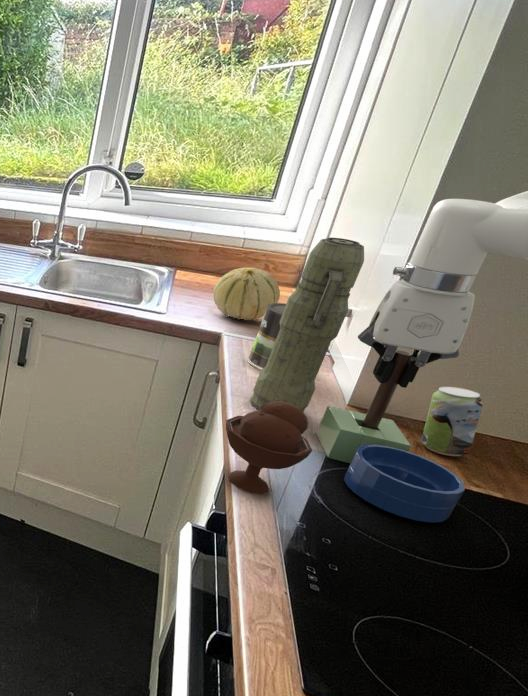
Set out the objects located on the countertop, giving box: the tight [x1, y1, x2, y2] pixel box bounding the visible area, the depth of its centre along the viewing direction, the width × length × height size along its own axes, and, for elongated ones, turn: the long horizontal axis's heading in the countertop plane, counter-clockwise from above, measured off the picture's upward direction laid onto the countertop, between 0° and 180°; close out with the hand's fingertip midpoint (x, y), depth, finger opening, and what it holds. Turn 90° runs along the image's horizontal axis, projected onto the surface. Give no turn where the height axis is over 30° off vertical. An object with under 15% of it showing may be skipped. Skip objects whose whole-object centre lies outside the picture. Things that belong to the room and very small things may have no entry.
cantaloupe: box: [212, 267, 281, 321], centre depth 161 cm, size 15×15×15 cm
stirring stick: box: [361, 349, 411, 430], centre depth 99 cm, size 2×2×16 cm
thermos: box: [249, 237, 365, 414], centre depth 111 cm, size 9×12×35 cm
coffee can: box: [247, 302, 287, 371], centre depth 133 cm, size 10×10×14 cm
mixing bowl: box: [343, 445, 466, 524], centre depth 91 cm, size 12×12×6 cm
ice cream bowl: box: [225, 401, 313, 496], centre depth 92 cm, size 11×11×15 cm
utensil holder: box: [315, 405, 412, 464], centre depth 103 cm, size 9×9×6 cm
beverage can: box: [420, 386, 484, 457], centre depth 104 cm, size 6×7×12 cm
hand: (390, 381), depth 98 cm, fingers closed on stirring stick, 2 cm apart
